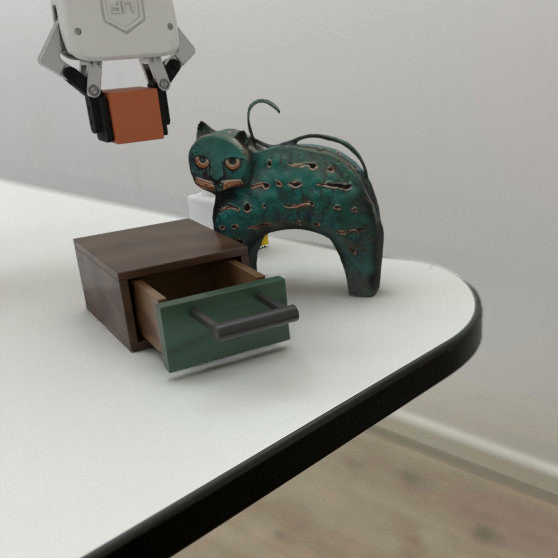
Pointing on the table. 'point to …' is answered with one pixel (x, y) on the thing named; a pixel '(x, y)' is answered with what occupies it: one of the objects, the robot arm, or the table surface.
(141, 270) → the cabinet
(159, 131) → the block
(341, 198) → the ceramic cat
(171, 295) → the drawer
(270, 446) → the table surface
